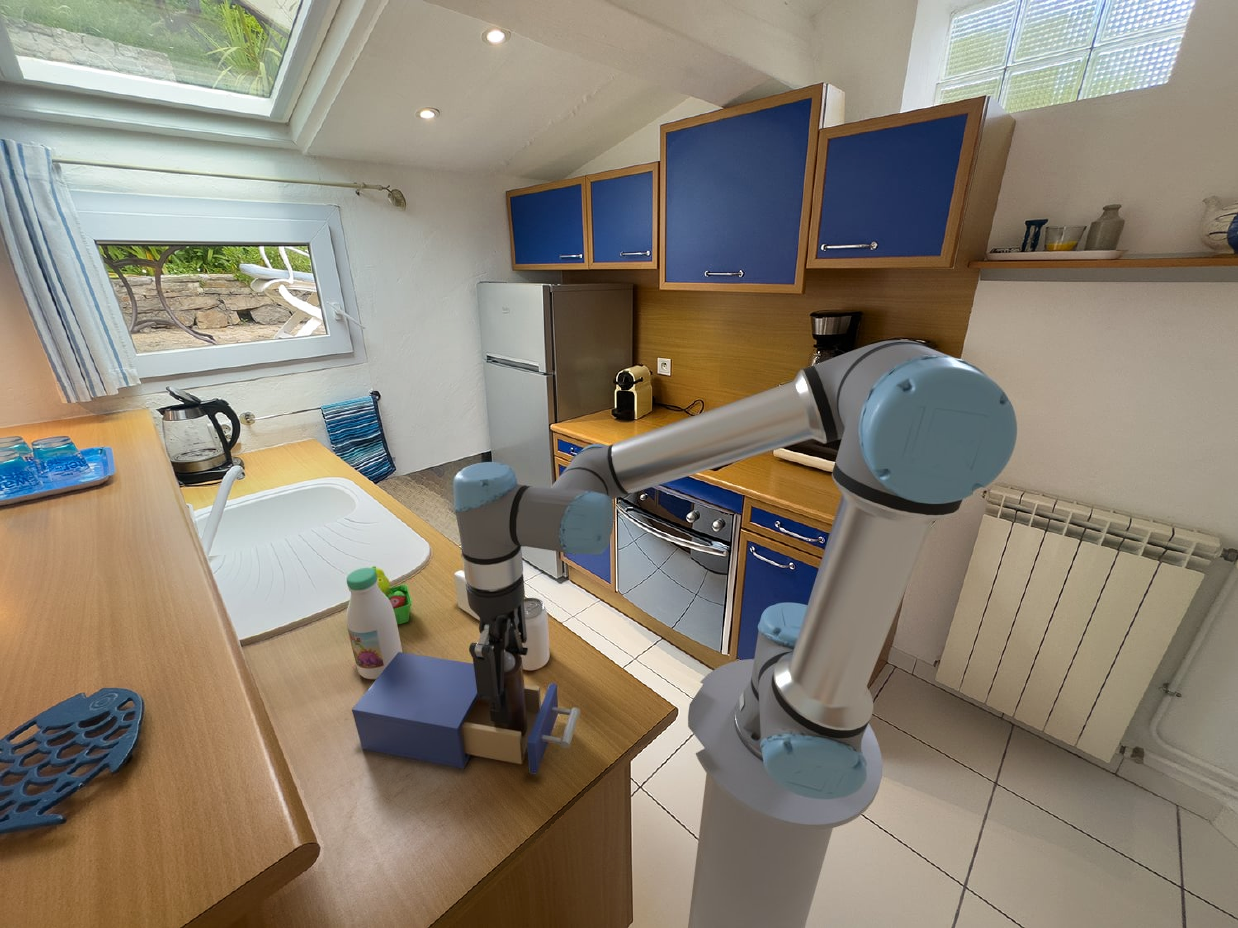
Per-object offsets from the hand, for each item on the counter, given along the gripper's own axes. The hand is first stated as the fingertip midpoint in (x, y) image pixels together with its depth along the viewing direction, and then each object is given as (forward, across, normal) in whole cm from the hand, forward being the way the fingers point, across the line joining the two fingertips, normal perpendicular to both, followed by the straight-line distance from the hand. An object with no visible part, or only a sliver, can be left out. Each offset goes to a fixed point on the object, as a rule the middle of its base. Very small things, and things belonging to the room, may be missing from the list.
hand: (508, 704), depth 74 cm
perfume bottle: (+8, -27, -20) cm, 34 cm away
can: (+8, -17, -3) cm, 19 cm away
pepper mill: (+5, 0, 0) cm, 5 cm away
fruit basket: (+8, -21, -37) cm, 43 cm away
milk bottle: (+8, -10, -30) cm, 32 cm away
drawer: (+7, 0, 0) cm, 7 cm away
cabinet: (+8, 0, -14) cm, 16 cm away
